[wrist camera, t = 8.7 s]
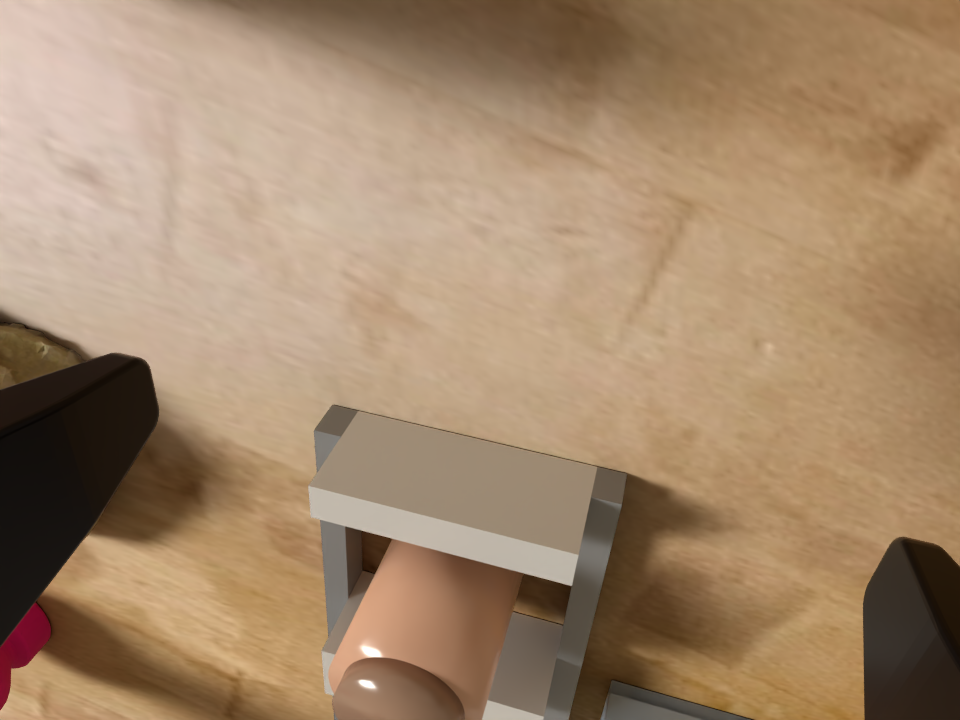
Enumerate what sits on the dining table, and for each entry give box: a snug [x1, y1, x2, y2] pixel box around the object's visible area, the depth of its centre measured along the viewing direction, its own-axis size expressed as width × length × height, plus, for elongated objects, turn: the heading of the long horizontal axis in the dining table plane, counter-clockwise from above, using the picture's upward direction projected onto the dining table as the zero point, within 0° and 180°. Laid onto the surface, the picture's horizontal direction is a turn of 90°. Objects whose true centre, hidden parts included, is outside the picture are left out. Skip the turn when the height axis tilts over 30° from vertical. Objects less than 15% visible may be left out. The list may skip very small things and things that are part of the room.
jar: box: [328, 539, 524, 720], centre depth 26 cm, size 5×5×8 cm
